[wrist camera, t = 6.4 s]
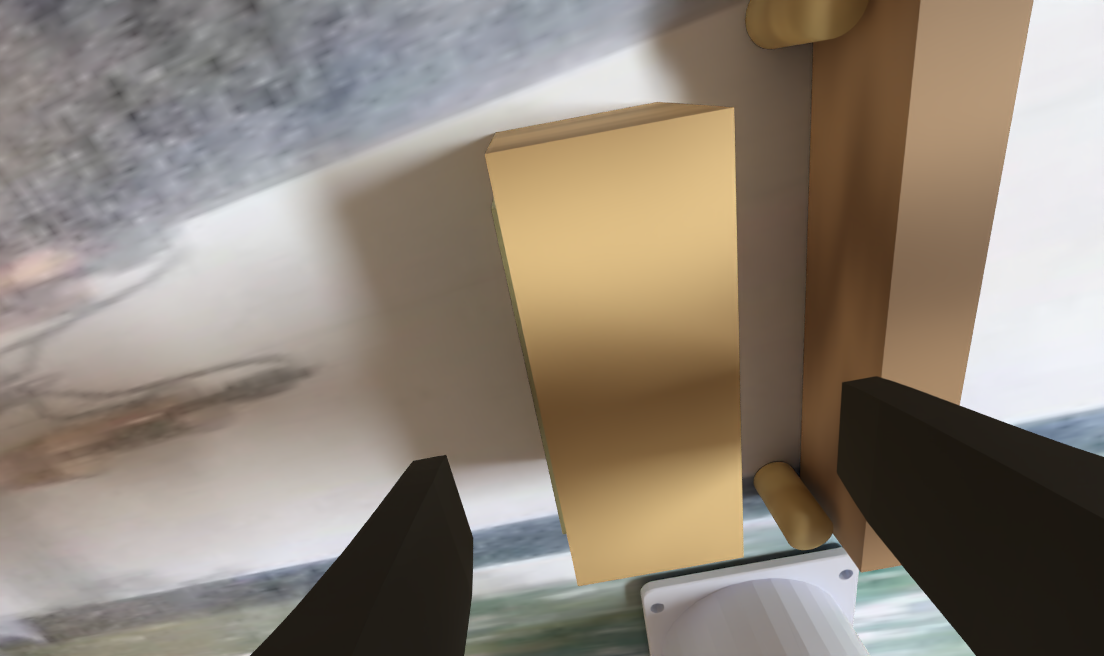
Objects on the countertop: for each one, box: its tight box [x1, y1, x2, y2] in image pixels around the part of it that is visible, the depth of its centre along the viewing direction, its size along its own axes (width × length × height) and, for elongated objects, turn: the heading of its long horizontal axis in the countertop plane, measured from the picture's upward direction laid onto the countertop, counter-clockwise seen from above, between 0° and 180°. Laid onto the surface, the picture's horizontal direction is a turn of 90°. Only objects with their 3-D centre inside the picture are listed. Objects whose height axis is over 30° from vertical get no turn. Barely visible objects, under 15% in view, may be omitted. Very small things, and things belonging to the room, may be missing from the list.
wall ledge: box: [745, 0, 1033, 572], centre depth 13 cm, size 18×4×4 cm, turn 10°
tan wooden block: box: [485, 102, 744, 586], centre depth 13 cm, size 10×4×5 cm, turn 10°
